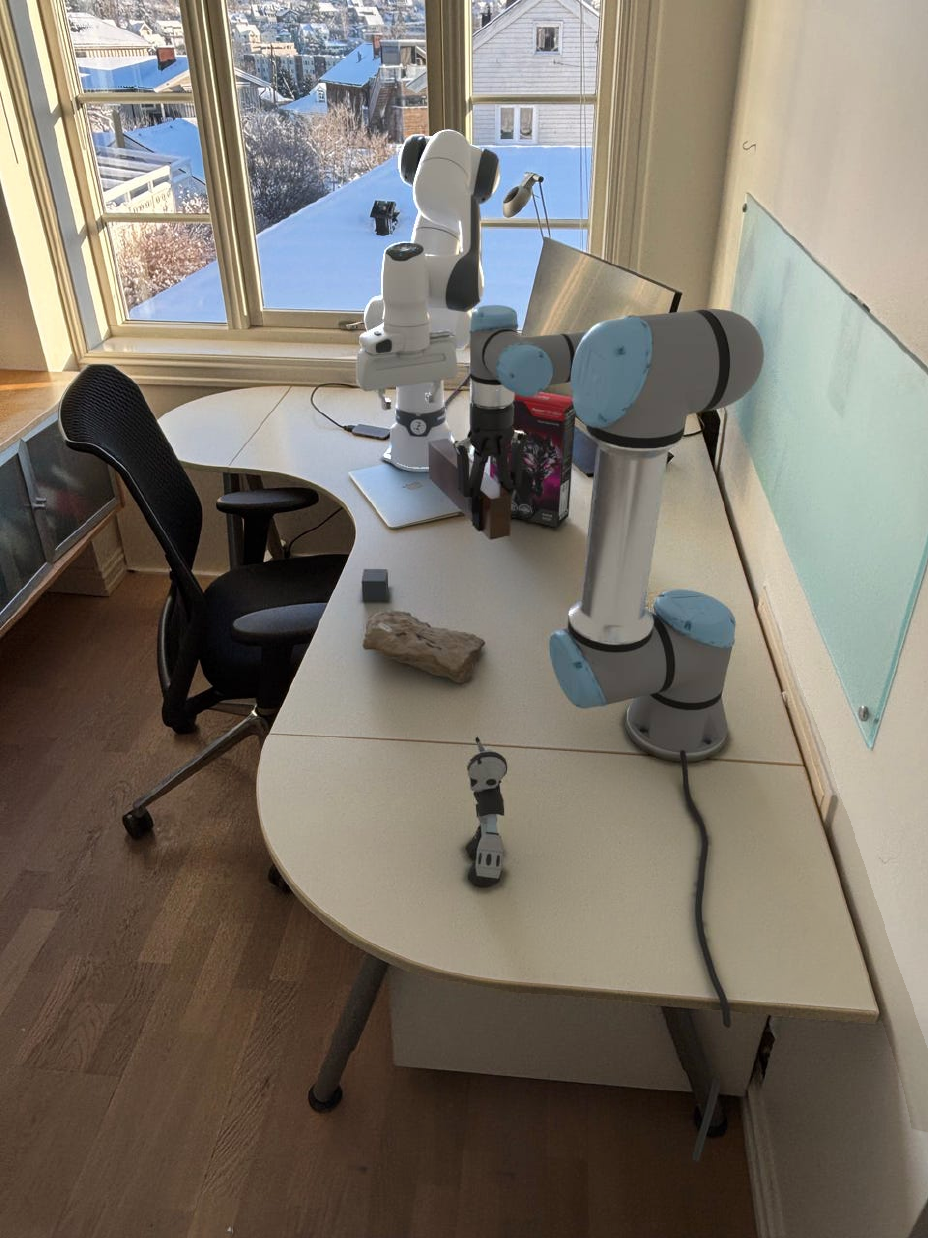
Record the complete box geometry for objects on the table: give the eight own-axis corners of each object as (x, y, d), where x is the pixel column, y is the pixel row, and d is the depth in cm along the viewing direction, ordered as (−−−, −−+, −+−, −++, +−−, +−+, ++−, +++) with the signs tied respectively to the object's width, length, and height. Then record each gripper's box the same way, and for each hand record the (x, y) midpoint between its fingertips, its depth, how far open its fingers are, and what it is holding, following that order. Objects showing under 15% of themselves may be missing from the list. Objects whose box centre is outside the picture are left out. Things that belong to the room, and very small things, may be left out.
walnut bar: (510, 535, 165) (511, 495, 161) (490, 540, 164) (491, 499, 159) (447, 475, 186) (446, 438, 182) (428, 478, 185) (428, 441, 181)
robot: (509, 924, 113) (515, 806, 101) (469, 925, 112) (471, 808, 101) (496, 807, 129) (501, 695, 118) (462, 808, 129) (463, 696, 118)
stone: (339, 657, 153) (345, 625, 150) (371, 626, 166) (378, 596, 164) (457, 699, 149) (466, 667, 147) (481, 664, 163) (489, 634, 160)
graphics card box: (486, 512, 203) (488, 393, 188) (499, 500, 208) (503, 382, 193) (557, 530, 197) (566, 407, 181) (570, 517, 202) (579, 396, 187)
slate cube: (386, 601, 173) (385, 581, 171) (362, 601, 173) (361, 581, 171) (388, 589, 177) (387, 568, 174) (365, 588, 177) (363, 568, 174)
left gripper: (450, 324, 181) (449, 392, 189) (350, 337, 174) (355, 407, 182) (463, 333, 176) (462, 403, 184) (362, 346, 169) (365, 418, 177)
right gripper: (526, 387, 161) (520, 508, 174) (436, 401, 155) (437, 525, 168) (547, 401, 155) (539, 525, 168) (454, 417, 149) (454, 543, 162)
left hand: (408, 405), depth 183 cm, fingers open, 8 cm apart
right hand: (488, 525), depth 168 cm, fingers closed on walnut bar, 4 cm apart
